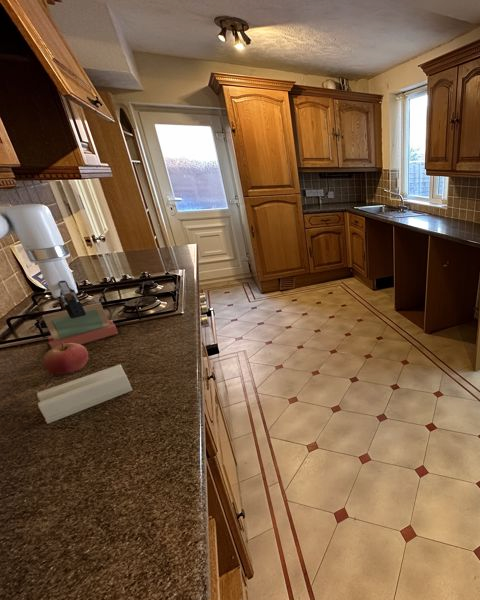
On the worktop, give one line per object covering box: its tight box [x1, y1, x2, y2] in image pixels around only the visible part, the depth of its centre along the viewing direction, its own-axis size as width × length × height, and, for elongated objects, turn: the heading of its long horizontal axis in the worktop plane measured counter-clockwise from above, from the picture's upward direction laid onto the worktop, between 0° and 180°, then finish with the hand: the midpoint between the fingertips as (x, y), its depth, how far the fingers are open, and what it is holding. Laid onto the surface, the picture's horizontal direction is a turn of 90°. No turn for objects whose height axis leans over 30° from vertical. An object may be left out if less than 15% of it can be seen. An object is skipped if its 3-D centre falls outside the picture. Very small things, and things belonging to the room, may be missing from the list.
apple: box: [42, 343, 89, 375], centre depth 81 cm, size 8×8×8 cm
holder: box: [36, 364, 133, 425], centre depth 72 cm, size 8×14×4 cm, turn 138°
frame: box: [42, 301, 110, 340], centre depth 93 cm, size 2×12×10 cm, turn 138°
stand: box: [47, 319, 119, 349], centre depth 94 cm, size 8×14×4 cm, turn 138°
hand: (76, 311), depth 91 cm, fingers open, 9 cm apart
